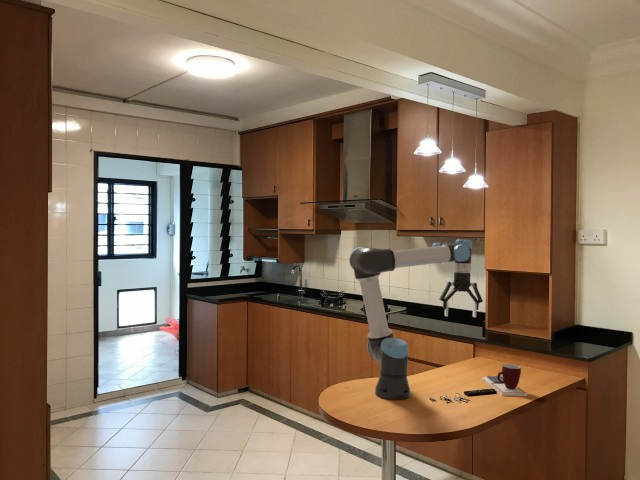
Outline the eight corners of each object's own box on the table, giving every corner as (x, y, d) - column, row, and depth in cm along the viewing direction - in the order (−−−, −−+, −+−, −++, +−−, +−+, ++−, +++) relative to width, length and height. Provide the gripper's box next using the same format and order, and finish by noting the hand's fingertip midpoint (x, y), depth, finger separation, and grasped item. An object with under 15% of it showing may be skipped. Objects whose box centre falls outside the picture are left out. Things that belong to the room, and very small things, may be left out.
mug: (503, 391, 231) (504, 369, 230) (492, 385, 238) (494, 364, 238) (523, 390, 233) (524, 368, 233) (512, 385, 241) (513, 363, 241)
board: (502, 395, 228) (502, 391, 228) (482, 379, 252) (482, 375, 252) (527, 396, 229) (527, 391, 229) (505, 380, 253) (505, 376, 252)
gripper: (438, 271, 240) (436, 316, 240) (491, 273, 241) (488, 318, 241) (434, 270, 247) (432, 314, 248) (485, 272, 248) (483, 315, 249)
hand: (460, 316), depth 245 cm, fingers open, 13 cm apart
